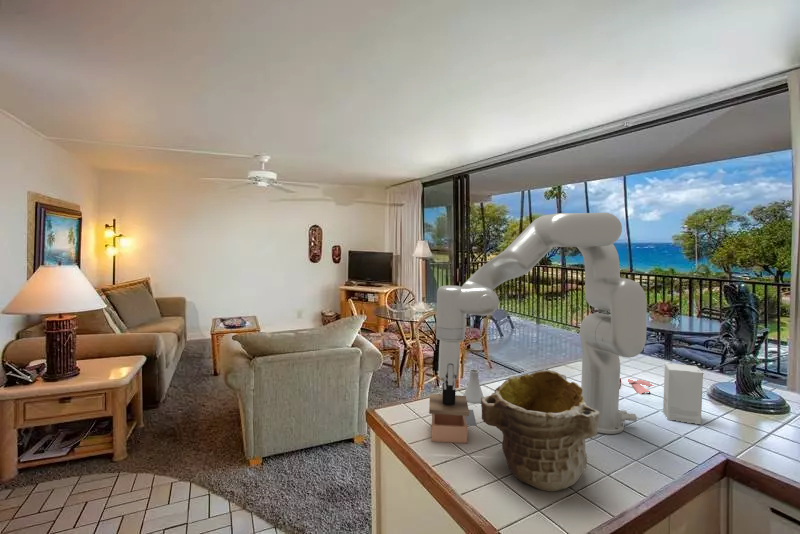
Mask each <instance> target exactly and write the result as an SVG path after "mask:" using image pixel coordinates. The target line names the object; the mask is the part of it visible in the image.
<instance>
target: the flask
mask: <svg viewBox="0 0 800 534" xmlns="http://www.w3.org/2000/svg"><path fill="white" fill-rule="evenodd" d="M468 372H469V380H468V383H467V386H466V389H465V391H464V394H463V396H466V399H467V404H473V405H477V404H481V398H482V397H485V396H484V394H483V391H482V388H481V384H480V380H479V373H480V370H479V369H476V368H470V369H469V370H468Z"/></svg>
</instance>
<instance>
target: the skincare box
mask: <svg viewBox="0 0 800 534" xmlns="http://www.w3.org/2000/svg"><path fill="white" fill-rule="evenodd" d="M663 375H664V376H663V377H664V379H663V380H664V382H663V405H662V406H663V407H662V412H663V414H664V415H666V416H665V417H667V418H666V419H667V420H668V419H669V420H668V421H672V420H676V421H675V422H678V421H681V422H680V423H684V422H687V424H691V423H695V424H694V425H697V424H701V425H702V409H703V408H702V407H703V406H702V405H703V387H704V386H703V385H704V384H703V383H704V382H703V381H704V379H703V378H704V372H703V370H701V369H700V368H699V367H698V366H697V365H690V364H689V365H688V364H678V363H669V362H665V363H664V374H663Z"/></svg>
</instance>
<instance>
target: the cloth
mask: <svg viewBox="0 0 800 534" xmlns="http://www.w3.org/2000/svg"><path fill="white" fill-rule="evenodd" d="M630 379H631V378H630ZM630 379H628V382H629V384H628V385H631V387H632V389H633V388H634V389H633V390H635V391H636V392H635V391H634V392H635V393H636V394H638V393H639V395H642V393H645V392H649V393H650V394H649V395H651V391H650V390H649V389H647V387H644V386H641V385H640V384H642V385H646V386H654V385H652V384H653V383H652V384H650V383H651V382H650V381H647V380H643V379H637V381H633V380H630ZM621 384H622V383H621V377H620V385H619V389H620V388H621Z"/></svg>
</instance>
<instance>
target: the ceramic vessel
mask: <svg viewBox="0 0 800 534" xmlns="http://www.w3.org/2000/svg"><path fill="white" fill-rule="evenodd" d="M582 391H583V389H582V388H581V386H580V384H578V383H576V382H574V381H572V382H569V381H568V380H567V376H566V375H564V374H561V373H559V372H558V371H555V370H546V369H545V370H544V369H543V370H538V371H534V372H532V373H530V374H529V373H528V374H527V373H525V374H523V375H512V376H509V378H508V379H507V380H504V381H503V382H502V383H501V385H499V386H498V387H497V388H496V389H495V390H494V392H492V393H491V394H490V395H486V396H484V397H482V398H481V403H480V404H481V405H480V406H481V419H482V421H483V423H484V424H486V425H488V426H490V427H495V428H497V429H498V430H499V431H500V432H501V433H502V435H503V436H502V444H501V446H502V447H501V449H502V452H503V455H504V458H505V460H506V462H507V465H508V468H509V470H510V472H511V474H512V475H513V476H514V477H516V478H517V480H518V481H520V482H524V483H525V484H527V485H530V486H532V487H533V488H536V489H538V490H541V491H547V492H556V491H561V490H565V489H567V488H569V487H571V486H573V485H575V484H576V483H577V482H578V481H579V479H580V477H581V476H582V474H583V473H584V472H585V470H586V468H587V464H588V460H587V459H588V458H587V457H588V456H587V452H586V451H587V450H586V439H591V438H594V437H596V435H597V436H598V422H599V415H600V413H599V412H598V411H597V410H595V409H592V408H591V407H589V406H587V405H586V403H585V402H584V401H585V399H584V396H582Z"/></svg>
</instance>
